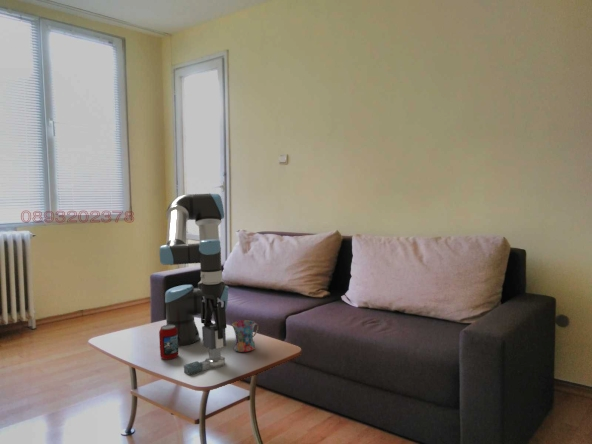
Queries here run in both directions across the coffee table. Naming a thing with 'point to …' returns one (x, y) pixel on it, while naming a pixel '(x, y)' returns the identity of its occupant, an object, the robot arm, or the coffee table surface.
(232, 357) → the coffee table surface
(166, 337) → the beverage can
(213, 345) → the cube with silver knob
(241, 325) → the mug
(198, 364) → the faucet
